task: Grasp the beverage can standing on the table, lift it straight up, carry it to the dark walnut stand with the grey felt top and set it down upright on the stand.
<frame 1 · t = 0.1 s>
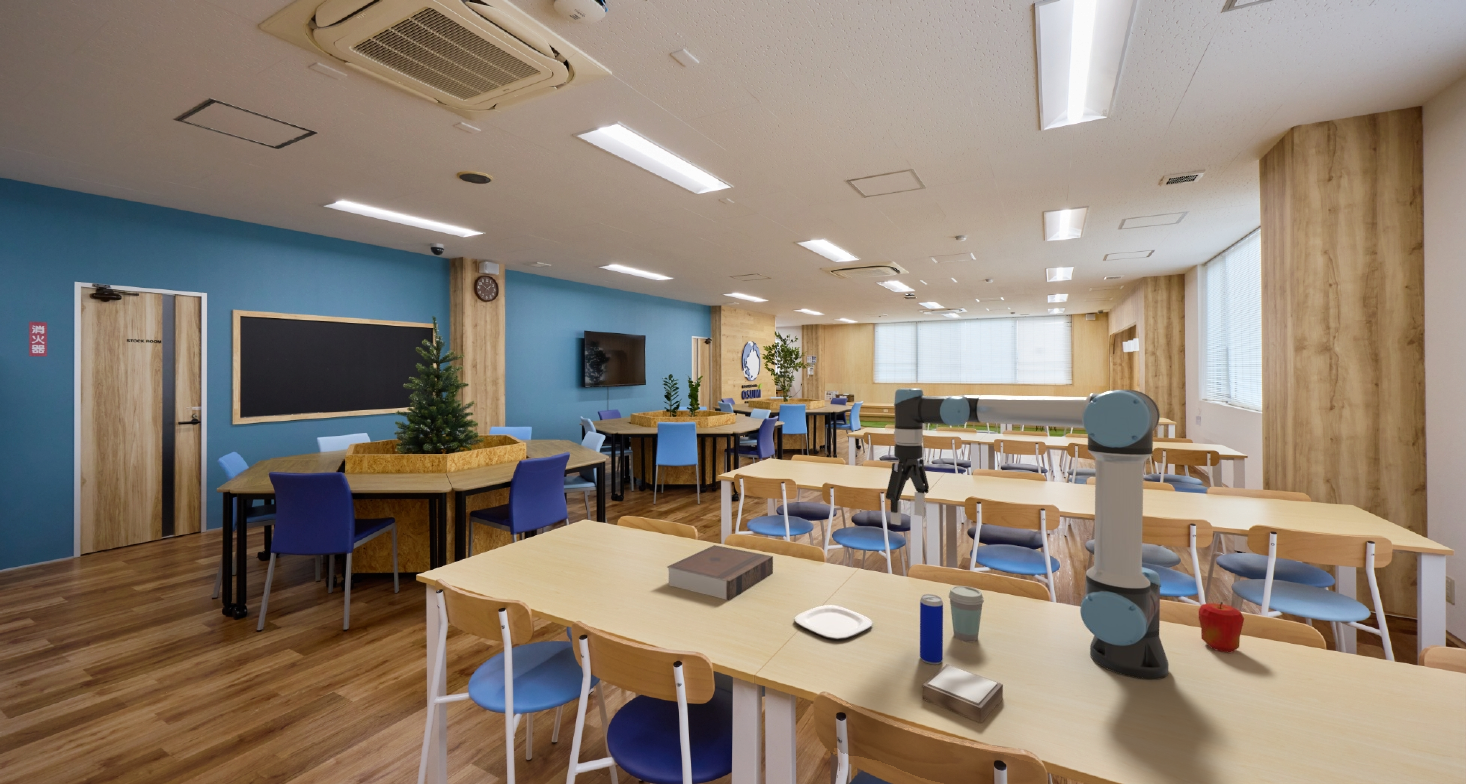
hand: (907, 519, 157), 28 cm above the table, fingers open, 13 cm apart
plate: (833, 626, 154), on the table
coffee cup: (965, 637, 147), on the table
book: (721, 581, 189), on the table
apple: (1220, 648, 140), on the table
beverage can: (931, 660, 134), on the table
stand: (962, 698, 118), on the table
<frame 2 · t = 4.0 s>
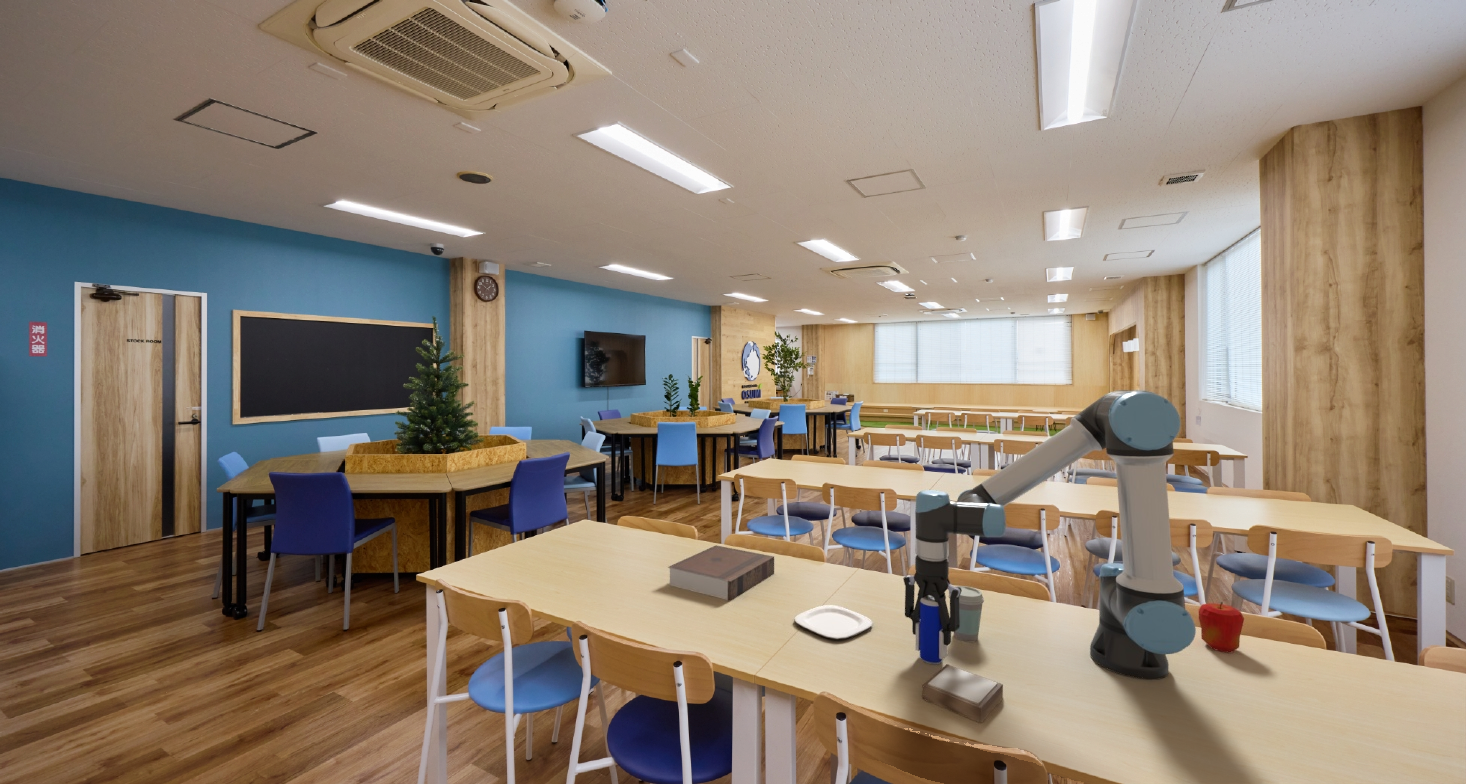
hand: (931, 652, 134), 2 cm above the table, fingers closed on beverage can, 5 cm apart
beverage can: (931, 660, 134), on the table, touching gripper
everything else where it was.
when the fingers open (6 cm above the table, at t = 9.1 s): beverage can stays where it is, resting on stand.
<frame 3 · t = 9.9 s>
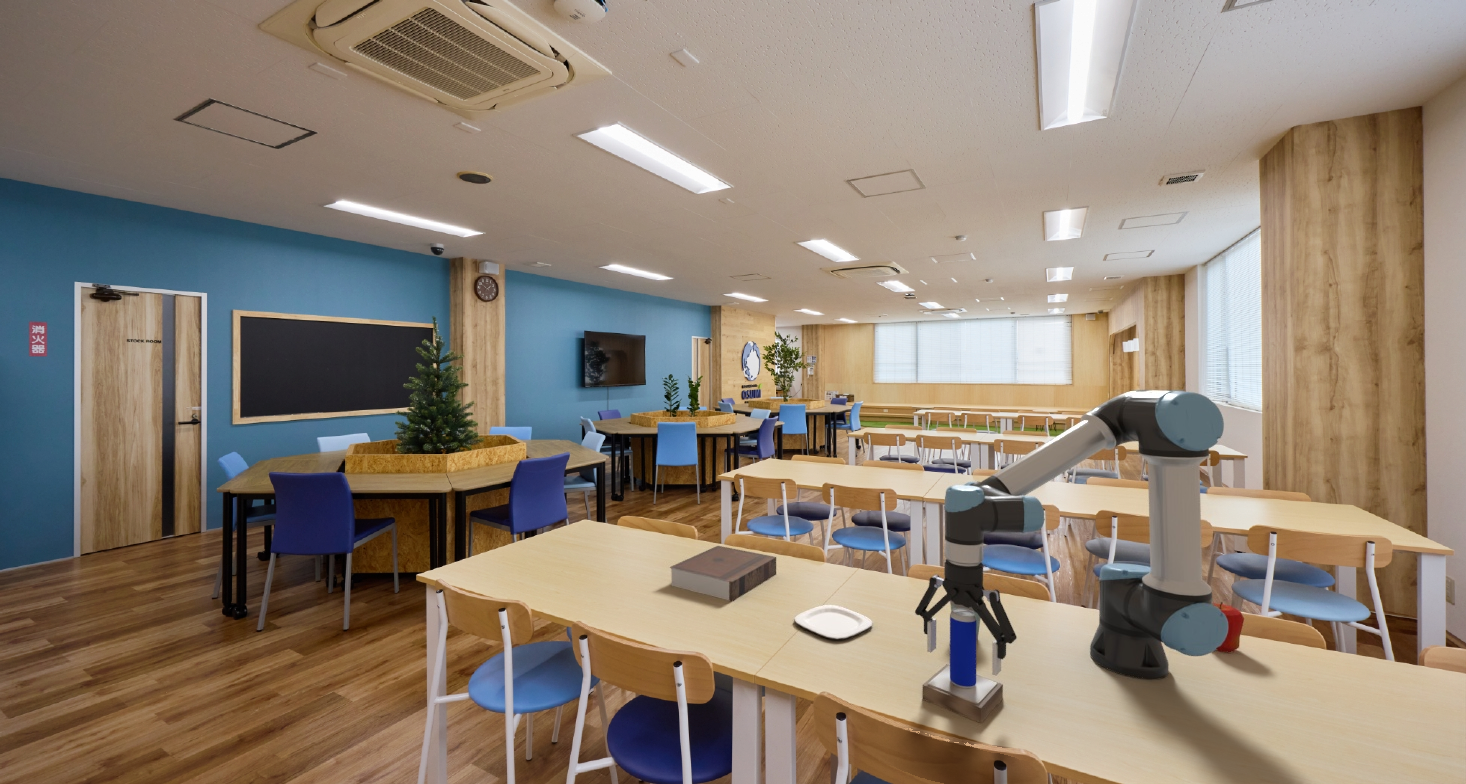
hand: (962, 661, 118), 8 cm above the table, fingers open, 13 cm apart
beverage can: (962, 684, 118), point 3 cm above the table, touching stand
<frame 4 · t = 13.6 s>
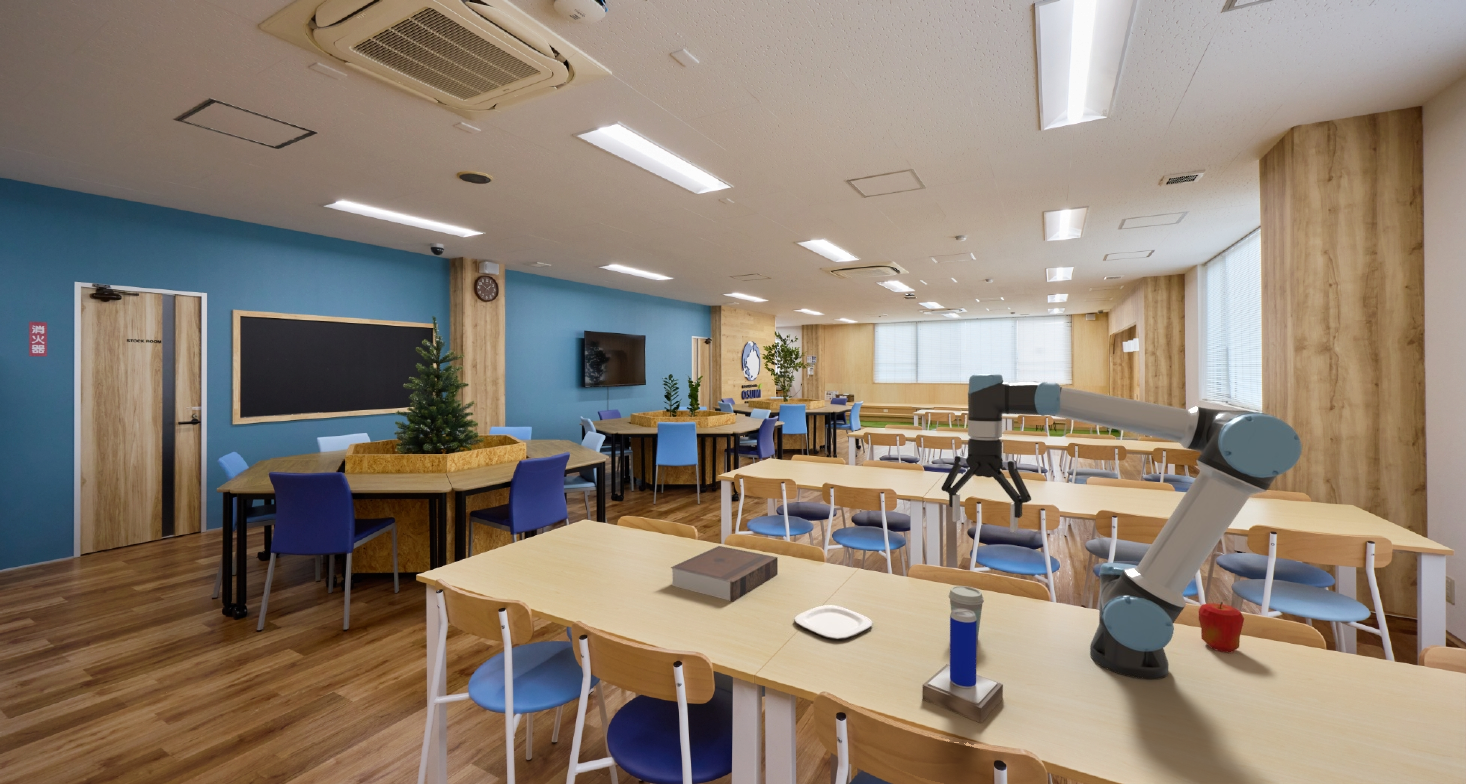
hand: (984, 525, 136), 32 cm above the table, fingers open, 13 cm apart
at the end: beverage can inside the target area on the stand (0.0 cm from its centre), point 3.1 cm above the stand's base; beverage can tilted 0°; the gripper is holding nothing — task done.
